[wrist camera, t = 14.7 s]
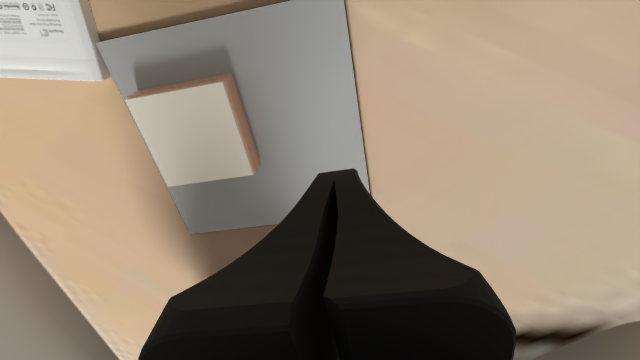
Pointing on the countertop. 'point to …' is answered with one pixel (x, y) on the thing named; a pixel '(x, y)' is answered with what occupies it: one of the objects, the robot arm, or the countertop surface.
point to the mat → (259, 101)
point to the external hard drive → (50, 41)
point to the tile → (196, 130)
